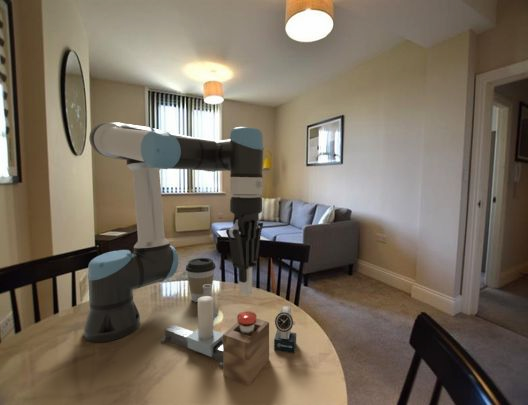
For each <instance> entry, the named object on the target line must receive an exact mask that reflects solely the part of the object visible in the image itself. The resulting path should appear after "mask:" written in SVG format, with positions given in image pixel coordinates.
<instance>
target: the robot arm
mask: <svg viewBox="0 0 528 405" xmlns="http://www.w3.org/2000/svg"><path fill="white" fill-rule="evenodd" d="M88 140H89V143H90V144H89V145H91V148H92V149H93V150H94V151H95V152H96V153H98V154H99V155H101V156H104V157H105V158H110V159H115V160H126V167H127V168H128V169H129V170H130V171H131V173H132V182H133V194H134V196H133V197H134V205H135V206H134V207H135V218H136V229H137V230H136V231H137V241H136V243H135V244H134V246H133V252H131V251H130V250H129V249H119V250H113V251H108V252H104V253H102V254H100V255H97V256H96V257H94V258H92V259H91V260H90V261H89V263H88V267H87V279H88V295H89V311H88V313H87V317H86V321H85V324H84V326H83V337H84V339H85V340H87V341H89V342H93V343H105V342H111V341H115V340H118V339H121V338H124V337H126V336H127V335H130V334H131V333H133V332H134V331H136V330H137V329H138V328H139V327H140V324H141V316H140V312H139V310H138V307H137V305H136V303H135V300H134V291H135V290H137V289H141V288H144V287H148V286H150V285H154V284H157V283H162V282H164V281H166V280H169V279H171V278H172V277H174V275H175V274H176V273H177V270H178V267H179V255H178V253H177V250H176V248H175V247H174V246H172V245H171V243H170V241H169V240H168V239H167V238H166V237H165V236H166V235H165V224H164V211H163V200H162V187H161V186H162V185H161V174H160V170H161V169H162V170H173V169H174V170H190V171H204V172H214V173H215V172H223V171H224V172H225V171H228V172H230V176H229V177H230V178H229V194H230V195H232V196H231V197H230V199H229V201H230V204H229V209H230V212H231V213H232V214H233V215H234V216H233V220H232V226H231V228H226V229H225V233H226V236H227V238H228V241H229V242H228V243H229V247H230V248H229V249H230V255H231V263H232V266H233V268H236V269H238V284H239V285H238V288H239V289H238V293H239V294H241V295H245V296H250V295H251V294H253V267H255V268H256V267H257V265H258V263H257V262H258V259H259V251H260V243H261V242H260V241H261V237H262V236H261V235H262V234H261V233H262V230H263V228H264V223H263V222H260V221H259V217H258V214H261V213H262V212H263V198H262V197H261V195H263V186H264V182H263V160H264V148H265V147H264V137H263V132H262V130H260V129H259V128H255V127H250V126H249V127H247V126H239V127H234V128H232V129H231V130H230V136H229V139H223V140H213V139H208V138H201V137H194V136H189V135H183V134H177V133H171V132H167V131H162V130H160V129H156V128H153V127H151V126H143V125H135V124H130V123H124V122H119V121H104V122H101V123H98V124H97V125H96V124H95V126H94V127H93V128H92V129H91V130H90V132H89V138H88Z"/></svg>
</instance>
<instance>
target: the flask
mask: <svg viewBox="0 0 528 405" xmlns="http://www.w3.org/2000/svg"><path fill="white" fill-rule="evenodd" d="M211 288H212V289H213V284H212V285H210V284H205V285H203V289H204V293H203V296H210V297H212V298H213V318H214V317H215V316H217V315H218V314H219V310H218V306H217V304H216V302H215V299H214V296H213V291H212V292H211ZM197 317H198V313H197Z"/></svg>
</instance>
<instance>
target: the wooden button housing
mask: <svg viewBox="0 0 528 405" xmlns="http://www.w3.org/2000/svg"><path fill="white" fill-rule="evenodd" d="M269 360H270V322H269V321H267V320H263V319H261V318H260V319H259V318H257V317H256V323H255V324H254V333H253V334H252V335H251V336H249V335H245V334H242V333H240V324H238V321H237V322H236V323H235V324H233V326H231V327H230V328H229V329H228V330H227V331H225V332H224V334H223V367H222V371H223V372H222V373H223V376H224V377H227V378H229V379H232V380H233V381H236V382H238V383H240V384H243V385H245V386H248V387H250V385H251V384H252V383H253V381H254V380H255V378H256V377H257V376H258V375H259V374H260V372H261V371H262V370H263V368H264V366H266V364H267V363H268V362H269Z"/></svg>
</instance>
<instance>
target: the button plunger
mask: <svg viewBox="0 0 528 405" xmlns="http://www.w3.org/2000/svg"><path fill="white" fill-rule="evenodd" d="M256 318H257V314H256V313H255V312H253V311H242V312H239V314H238V315H237V318H236V319H237V322H238V324H240V333H242V334H245V335H249V336H251V335H252V334H253V333H254V324H255V323H256Z"/></svg>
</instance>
